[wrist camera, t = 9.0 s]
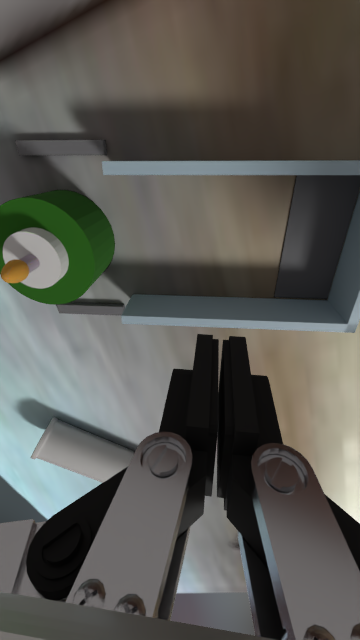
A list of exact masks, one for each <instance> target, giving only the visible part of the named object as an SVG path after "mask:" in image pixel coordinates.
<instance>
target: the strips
mask: <svg viewBox="0 0 360 640" xmlns="http://www.w3.org/2000/svg"><path fill="white" fill-rule="evenodd" d="M15 142H16V146H17V150H18V154H19V155H107V152H106V143H105V140H15ZM57 307H58V311H59V313H70V314H97V315H122V313H123V311H124V310H125V306H124V304H100V303H70V302H69V303H65V304H57Z"/></svg>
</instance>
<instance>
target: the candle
mask: <svg viewBox="0 0 360 640" xmlns="http://www.w3.org/2000/svg"><path fill="white" fill-rule="evenodd" d="M114 248H115V241H114V234H113V231H112V228H111V225H110V223H109V221H108V219H107V217H106V216H105V214H104V213H103V212H102V210H101V209H100V208H99V207H98V206H97V205H96V204H95V203H94V202H93V201H91V200H90V199H88V198H87V197H85V196H83V195H81V194H79V193H76V192H73V191H68V190H55V191H50V192H45V193H41V194H36V195H31V196H27V197H22V198H18V199H13V200H10V201H8V202H6V203H4V204H2V205H1V206H0V274H1V278H2V279H3V280H4V281H5V282H8V283H9V284H10V285H11V286H12V287H13V288H14V289H16V290H17V291H18V292H20V293H21V294H23V295H25V296H26V297H28V298H30V299H32V300H35V301H38V302H41V303H46V304H65V303H69V302H72V301H74V300H76V299H78V298H79V297H81V296H82V295H83V294H84V293H85V292H86V291H87V290H88V288H89V287H90V286H91V285H92V284H93V283H94V282H95V281H96V280H97V278H98V277H99V276H100V275H101V274H102V273H103V272H104V271H105V270H106V268H107V267H108V266H109V264H110V262H111V261H112V258H113V255H114Z"/></svg>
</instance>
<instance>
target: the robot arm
mask: <svg viewBox="0 0 360 640" xmlns="http://www.w3.org/2000/svg"><path fill="white" fill-rule="evenodd" d="M218 345H219V340H218V339H213V335H203V334H198V335H197V343H196V351H195V358H194V366H193V370H184V369H173V372H172V376H171V381H170V385H169V390H168V394H167V399H166V403H165V408H164V412H163V417H162V421H161V426H160V430H159V432H158V433H154V434H152V435H150V436H148V437H146V438H145V439H144V440H143V441H142V442H141V443H140V444H139V446H138V447H137V449H136V451H135V453H134V455H133V457H132V459H131V461H130V464H129V466H128V467H126V468H124V469H123V470H121V471H120V472H118V473H117V474H115V475H114V476H112V477H111V478H109V479H108V480H106V481H105V482H103V483H102V484H100V485H99V486H97V487H96V488H94V489H93V490H91V491H90V492H88V493H87V494H85V495H84V496H82V497H81V498H79V499H78V500H76V501H75V502H73V503H72V504H70V505H69V506H67V507H66V508H64V509H63V510H61V511H59V512H58V513H56V514H55V515H53V516H52V517H51V518H50V519H49V520H48V521H45V522H38V523H35V521H34V519H31V520H24V521H15V522H8V523H0V640H360V524H359V523H358V522H357V521H356V520H354V519H353V518H352V517H351V516H350V515H349V514H347V513H346V512H345V511H344V510H343V509H341V508H340V507H339V506H338V505H337V504H336V503H334V502H333V501H332V500H331V499H330V498H328V497H327V496H326V495H325V494H324V492H323V490H322V488H321V486H320V484H319V481H318V479H317V477H316V475H315V473H314V471H313V469H312V467H311V465H310V464H309V462H308V461H307V459H306V458H305V457H304V456H303V455H302V454H301V453H299V452H298V451H296V450H295V449H293V448H291V447H289V446H286V445H284V444H283V442H282V437H281V433H280V429H279V424H278V420H277V415H276V411H275V406H274V402H273V397H272V393H271V388H270V384H269V380H268V377H267V376H260V375H251V372H250V365H249V358H248V351H247V344H246V338H245V337H235V336H230V337H229V340H223V347H222V358H221V370H220V381H219V392H218ZM217 432H218V435H217ZM216 443H217V497H221V498H224V510H227V518H228V519H229V520H230V522H231V523H232V524H233V525H234V526H235V528H236V529H237V530H238V540H239V546H240V551H241V557H242V563H243V568H244V574H245V580H246V585H247V591H248V597H249V602H250V608H251V613H252V620H253V625H254V631H255V636H253V635H247V634H242V633H236V632H231V631H225V630H219V629H213V628H208V627H203V626H197V625H191V624H186V623H180V622H174V621H170V619H171V614H172V610H173V606H174V601H175V596H176V592H177V587H178V582H179V578H180V573H181V569H182V564H183V559H184V555H185V550H186V545H187V541H188V536H189V531H190V526H191V525H192V524H193V523H194V522H195V521H196V520H197V519H199V518H200V517H201V516H202V515H203V512H204V498H205V496H211V495H212V485H213V474H214V464H215V454H216Z"/></svg>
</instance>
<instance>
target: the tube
mask: <svg viewBox="0 0 360 640" xmlns="http://www.w3.org/2000/svg"><path fill="white" fill-rule="evenodd" d="M134 453H135V451H132V450H130V449H127V448H125V447H123V446H120V445H118V444H115V443H113V442H111V441H108V440H106V439H103V438H101V437H99V436H96V435H94V434H91V433H89V432H87V431H84V430H82V429H79V428H77V427H75V426H72V425H70V424H67V423H65V422H63V421H60V420H58V419H57V418H56V417H53V418H52V420H51V421H50V423H49V425H48V426H47V428H46V430H45V432H44V433H43V435H42V437H41V439H40V441H39V442H38V444H37V446H36V448H35V450H34V452H33V454H32V456H31V458H32V459H36V458H38V459H41V460H44V461H47V462H49V463H52V464H55V465H57V466H60V467H62V468H65V469H68V470H70V471H73V472H76V473H78V474H81V475H84V476H86V477H89V478H92V479H94V480H97V481H100V482H102V483H103V482H105V481H106V480H108V479H109V478H111V477H112V476H114V475H115V474H117V473H118V472H120V471H121V470H123V469H124V468H126V467H128V466H129V464H130V461H131V459H132V457H133V455H134Z"/></svg>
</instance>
